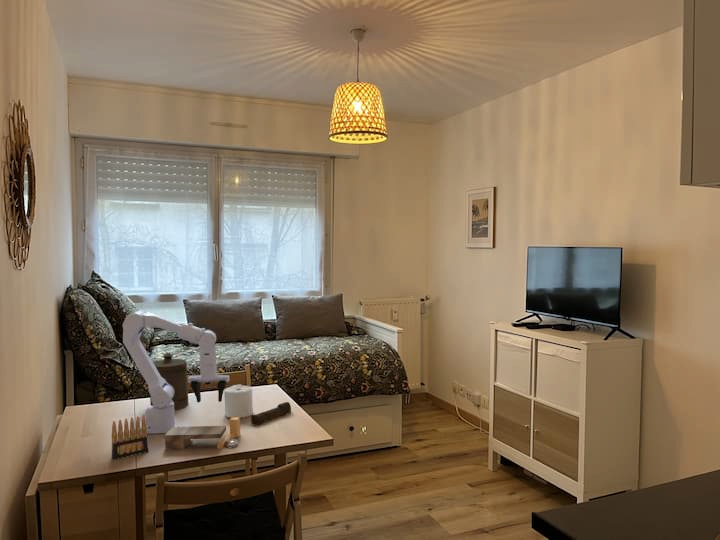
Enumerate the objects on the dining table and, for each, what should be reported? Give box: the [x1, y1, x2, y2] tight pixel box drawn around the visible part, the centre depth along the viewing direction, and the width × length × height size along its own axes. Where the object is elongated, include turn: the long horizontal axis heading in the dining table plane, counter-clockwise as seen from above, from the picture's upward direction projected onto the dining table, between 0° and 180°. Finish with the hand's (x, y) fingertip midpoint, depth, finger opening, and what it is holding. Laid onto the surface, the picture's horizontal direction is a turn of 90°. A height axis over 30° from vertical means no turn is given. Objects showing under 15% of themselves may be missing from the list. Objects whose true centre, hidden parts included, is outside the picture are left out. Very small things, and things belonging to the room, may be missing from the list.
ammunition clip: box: [111, 414, 149, 461], centre depth 175 cm, size 11×2×12 cm, turn 125°
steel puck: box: [224, 438, 239, 448], centre depth 182 cm, size 4×4×2 cm
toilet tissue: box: [223, 383, 254, 419], centre depth 216 cm, size 11×12×10 cm
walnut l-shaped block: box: [164, 425, 227, 451], centre depth 183 cm, size 18×8×5 cm, turn 91°
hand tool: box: [250, 401, 292, 426], centre depth 209 cm, size 19×4×5 cm, turn 140°
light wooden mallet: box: [216, 417, 241, 449], centre depth 186 cm, size 3×13×6 cm, turn 168°
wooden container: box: [149, 352, 189, 411], centre depth 228 cm, size 15×15×22 cm
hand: (209, 401), depth 200 cm, fingers open, 7 cm apart
